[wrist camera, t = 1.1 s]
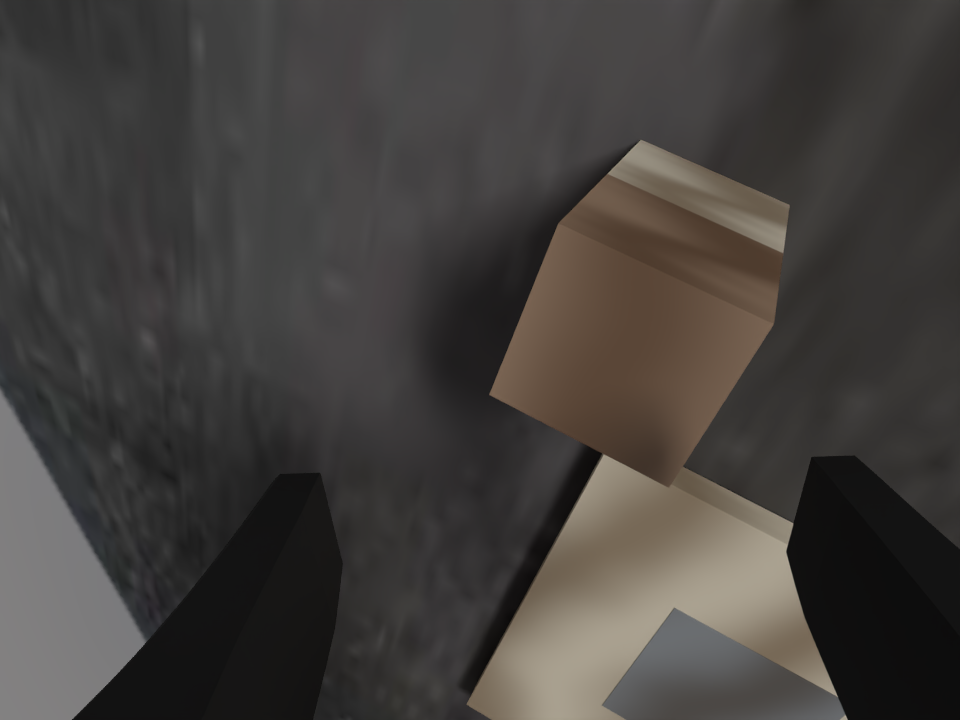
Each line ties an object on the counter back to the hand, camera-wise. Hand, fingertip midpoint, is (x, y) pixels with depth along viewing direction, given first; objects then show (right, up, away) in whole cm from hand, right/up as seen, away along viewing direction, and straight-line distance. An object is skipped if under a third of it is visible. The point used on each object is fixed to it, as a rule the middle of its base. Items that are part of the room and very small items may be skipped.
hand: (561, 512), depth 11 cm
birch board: (+8, -10, +17) cm, 22 cm away
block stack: (+5, +6, +10) cm, 13 cm away
